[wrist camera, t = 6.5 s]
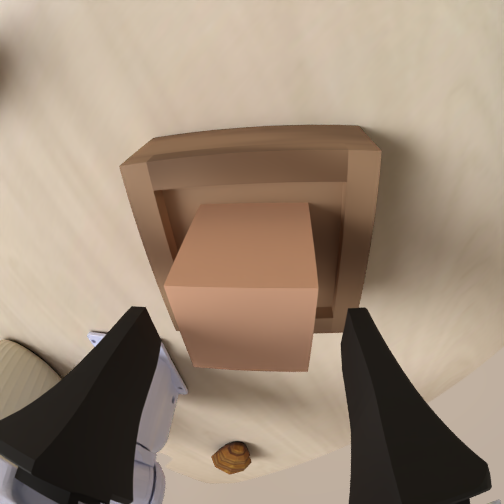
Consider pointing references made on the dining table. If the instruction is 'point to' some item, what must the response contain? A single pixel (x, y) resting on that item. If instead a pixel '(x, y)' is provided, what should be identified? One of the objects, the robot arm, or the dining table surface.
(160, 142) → the walnut base
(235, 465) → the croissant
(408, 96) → the dining table surface
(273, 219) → the block
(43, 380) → the canister
